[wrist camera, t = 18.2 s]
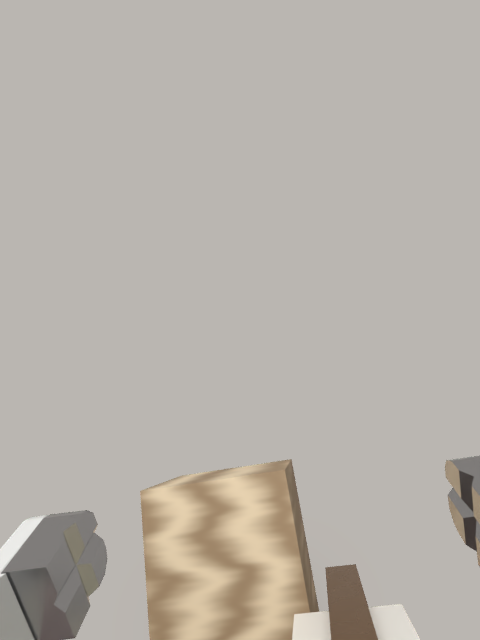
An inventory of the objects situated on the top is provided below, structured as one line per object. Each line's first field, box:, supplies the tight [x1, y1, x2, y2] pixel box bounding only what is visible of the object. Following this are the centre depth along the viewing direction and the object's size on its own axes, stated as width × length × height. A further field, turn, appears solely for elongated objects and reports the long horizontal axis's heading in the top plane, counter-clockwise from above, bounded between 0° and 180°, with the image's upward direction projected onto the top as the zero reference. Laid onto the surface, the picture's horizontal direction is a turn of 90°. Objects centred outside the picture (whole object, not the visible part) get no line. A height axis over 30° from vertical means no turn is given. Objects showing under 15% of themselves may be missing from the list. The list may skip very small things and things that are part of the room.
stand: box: [141, 460, 319, 640], centre depth 36 cm, size 14×12×26 cm
